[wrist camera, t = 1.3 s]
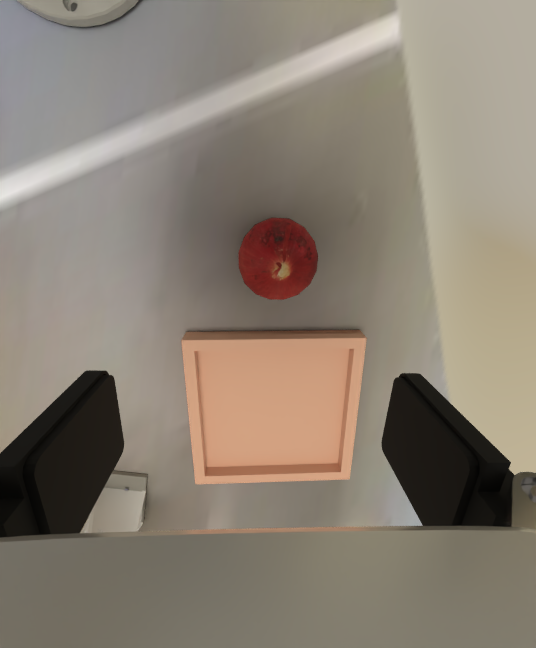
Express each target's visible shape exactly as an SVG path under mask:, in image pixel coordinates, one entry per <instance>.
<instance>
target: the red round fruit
mask: <svg viewBox="0 0 536 648" xmlns="http://www.w3.org/2000/svg"><path fill="white" fill-rule="evenodd" d="M317 261H318V254H317V250H316V246H315V242H314V240H313V239H312V237H311V236H310V234H309V233H308V232H307V230H306V229H305V228H304V227H303V226H301V225H299V224H298V223H296V222H294V221H292V220H291V219H287V218H269V219H267V220H265V221H262V222H260V223H258V224H256V225H254V226H253V228H252V229H251V230H250V231H249V232H248V233H247V235H246V236H245V237H244V239H243V242H242V244H241V247H240V250H239V269H240V272H241V275H242V277H243V280H244V283H245V284H246V285H247V286H248V287H249V288H250V289H251V290H252V291H253V292H254V293H255V294H257V295H260V296H262V297H265V298H267V299H287V298H290V297H293V296H295V295H298V294H299V293H300V292H302V291H303V290H304V289H305V288H306V287H307V286H308V285H310V283H311V281H312V279H313V277H314V275H315V273H316V271H317Z"/></svg>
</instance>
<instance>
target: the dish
mask: <svg viewBox="0 0 536 648" xmlns="http://www.w3.org/2000/svg"><path fill="white" fill-rule="evenodd" d="M366 339H367V338H366V337H365V336H364V334H363V333H362V332H361V331H360V330H302V331H218V332H186V333H185V335H184V337H183V338H182V340H181V342H182V352H183V362H184V372H185V382H186V392H187V403H188V413H189V423H190V433H191V443H192V453H193V464H194V474H195V484H220V483H251V482H281V481H311V480H342V479H350V471H351V463H352V455H353V447H354V438H355V430H356V422H357V414H358V405H359V397H360V389H361V380H362V372H363V364H364V356H365V347H366Z"/></svg>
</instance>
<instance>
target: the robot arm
mask: <svg viewBox="0 0 536 648" xmlns="http://www.w3.org/2000/svg"><path fill="white" fill-rule="evenodd" d="M17 1H18V2H19V3H21V4H22V5H23V6H24V7H26V8H27V9H28V10H30V11H32V12H34V13H36V14H38V15H40V16H41V17H43V18H45V19H47V20H50V21H54V22H57V23H60V24H63V25H67V26H78V27H89V26H95V25H102V24H105V23H107V22H110V21H112V20H114V19H117V18H119V17H121V16H122V15H123V14H124V13H126V12H127V11H128V10H130V9H131V8H132V7H134V6H135V5H136V3H137V2H138V1H139V0H17ZM76 7H77V9H76V10H75V8H76ZM74 10H75V11H74ZM123 448H124V439H123V433H122V426H121V420H120V413H119V406H118V400H117V393H116V387H115V380H114V377H113V376H112V375H109V374H108V372H107V371H85V372H84V373H83V374H82V375H81V376H80V377H79V378H78V379H77V380H76V381H75V382H74V383H73V384H72V385H71V386H70V387H68V388H67V389H66V390H65V391H64V392H63V393H62V394H61V395H60V396H59V397H58V398H57V399H56V400H55V401H54V402H53V403H52V404H51V405H50V406H49V407H48V408H47V409H46V410H45V411H44V412H43V413H42V414H41V415H40V416H38V417H37V418H36V419H35V420H34V421H33V422H32V423H31V424H30V425H29V426H28V427H27V428H26V429H25V430H24V431H23V432H22V433H21V434H20V435H19V436H18V437H17V438H16V439H15V440H14V441H13V442H12V443H11V444H10V445H8V446H7V447H6V448H5V449H4V450H3V451H2V452H1V453H0V648H536V473H532V472H520V473H518V474H516V475H514V474H513V473H512V472H511V471H510V470H509V466H510V464H511V462H510V461H509V460H508V459H507V458H506V457H505V456H504V455H503V454H502V453H500V451H499V450H498V449H497V448H495V446H493V445H492V444H491V443H490V442H489V441H488V440H487V439H486V438H485V437H484V436H483V435H482V434H481V433H480V432H479V431H478V430H477V429H476V428H475V427H474V426H473V425H472V424H471V423H470V422H469V421H468V420H467V419H466V418H465V417H464V416H463V415H461V413H460V412H459V411H458V410H457V409H456V408H455V407H454V406H453V405H451V404H450V403H449V402H448V401H447V400H446V399H445V398H444V397H443V396H442V395H441V394H440V393H439V392H438V391H437V390H436V389H435V388H434V387H433V386H432V385H431V384H430V383H429V382H428V381H427V380H426V379H425V378H424V377H423V376H422V375H421V374H416V373H402V374H400V376H399V378H395V380H394V383H393V388H392V393H391V398H390V402H389V407H388V412H387V417H386V422H385V427H384V432H383V437H382V450H383V452H384V454H385V456H386V458H387V460H388V462H389V464H390V466H391V467H392V469H393V471H394V473H395V475H396V477H397V478H398V480H399V482H400V484H401V486H402V488H403V490H404V491H405V493H406V495H407V497H408V499H409V501H410V503H411V504H412V506H413V508H414V510H415V512H416V514H417V515H418V517H419V519H420V521H421V523H422V525H423V526H378V527H312V528H260V529H213V530H174V531H135V532H98V533H80V532H81V530H82V528H83V526H84V524H85V522H86V520H87V518H88V517H89V515H90V513H91V511H92V509H93V507H94V505H95V503H96V502H97V500H98V498H99V496H100V494H101V492H102V490H103V488H104V487H105V485H106V483H107V481H108V479H109V477H110V475H111V473H112V472H113V470H114V468H115V466H116V464H117V462H118V460H119V458H120V457H121V455H122V452H123Z"/></svg>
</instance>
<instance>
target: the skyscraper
mask: <svg viewBox="0 0 536 648" xmlns="http://www.w3.org/2000/svg"><path fill="white" fill-rule="evenodd" d="M147 478H148V474H139V473H130V472H121V471H113V472H112V473H111V475H110V477H109V479H108V481H107V483H106V485H105V487H104V488H103V490H102V492H101V494H100V496H99V498H98V500H97V502H96V503H95V505H94V507H93V509H92V511H91V513H90V515H89V517H88V518H87V519H88V520H87V522H86V524H85V526H84V528H83V529H82V531H81V532H80V533H98V532H135V531H138V530H139V529H140V527H141V526H142V525H143V522H144V514H145V502H146V490H147Z"/></svg>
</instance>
